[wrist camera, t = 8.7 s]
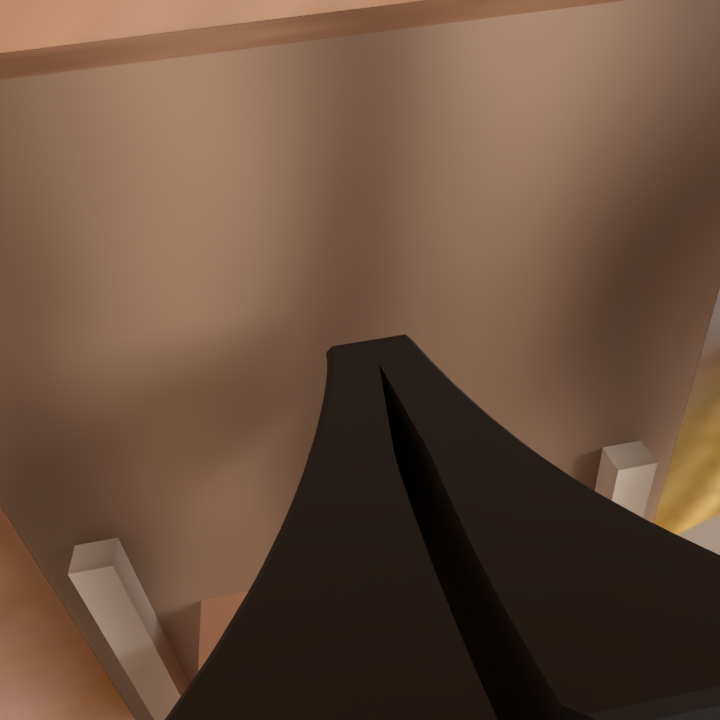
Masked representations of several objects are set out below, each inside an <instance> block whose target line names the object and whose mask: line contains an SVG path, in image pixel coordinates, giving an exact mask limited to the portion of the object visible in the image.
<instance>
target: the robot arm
mask: <svg viewBox="0 0 720 720" xmlns="http://www.w3.org/2000/svg"><path fill="white" fill-rule="evenodd" d="M326 357H327V377H326V385H325V392H324V398H323V403H322V408H321V412H320V416H319V421H318V425H317V429H316V433H315V437H314V440H313V443H312V447H311V450H310V453H309V456H308V459H307V462H306V465H305V468H304V472H303V475H302V477H301V480H300V483H299V485H298V488H297V491H296V493H295V496H294V498H293V501H292V503H291V506H290V508H289V510H288V513H287V515H286V517H285V520H284V522H283V524H282V527H281V529H280V531H279V533H278V535H277V537H276V539H275V541H274V543H273V545H272V547H271V549H270V551H269V553H268V555H267V557H266V559H265V561H264V564H263V566H262V567H261V569H260V571H259V573H258V575H257V577H256V579H255V581H254V582H253V584H252V586H251V588H250V590H249V591H248V593H247V595H246V596H245V598H244V600H243V601H242V603H241V605H240V606H239V608H238V610H237V611H236V613H235V615H234V616H233V618H232V620H231V621H230V623H229V625H228V626H227V628H226V630H225V631H224V633H223V635H222V636H221V638H220V640H219V641H218V643H217V644H216V646H215V648H214V649H213V651H212V652H211V654H210V655H209V657H208V658H207V660H206V661H205V663H204V664H203V666H202V667H201V669H200V670H199V672H198V673H197V674H196V676H195V677H194V679H193V680H192V681H191V683H190V684H189V686H188V687H187V689H186V690H185V691H184V693H183V694H182V696H181V697H180V698H179V700H178V701H177V703H176V704H175V706H174V707H173V708H172V710H171V711H170V713H169V714H168V716H167V717H166V718H165V720H720V555H718V554H716V553H714V552H712V551H709V550H707V549H705V548H703V547H701V546H699V545H697V544H695V543H692V542H690V541H688V540H686V539H684V538H682V537H680V536H678V535H676V534H673V533H671V532H669V531H667V530H665V529H663V528H662V527H660V526H658V525H656V524H654V523H652V522H650V521H648V520H646V519H644V518H642V517H640V516H639V515H637V514H635V513H633V512H631V511H630V510H628V509H626V508H624V507H622V506H621V505H619V504H617V503H615V502H613V501H612V500H610V499H608V498H606V497H604V496H603V495H601V494H599V493H597V492H595V491H594V490H592V489H590V488H589V487H587V486H586V485H584V484H582V483H581V482H579V481H577V480H576V479H574V478H573V477H571V476H570V475H568V474H567V473H565V472H564V471H562V470H561V469H559V468H558V467H556V466H555V465H553V464H552V463H550V462H549V461H547V460H546V459H545V458H543V457H542V456H540V455H539V454H538V453H536V452H535V451H534V450H532V449H531V448H530V447H528V446H527V445H526V444H524V443H523V442H522V441H520V440H519V439H518V438H516V437H515V436H514V435H513V434H511V433H510V432H509V431H508V430H506V429H505V428H504V427H503V426H501V425H500V424H499V423H498V422H497V421H495V420H494V419H493V418H492V417H491V416H489V415H488V414H487V413H486V412H485V411H484V410H482V409H481V408H480V407H479V406H478V405H477V404H476V403H475V402H474V401H473V400H471V399H470V398H469V397H468V396H467V395H466V394H465V393H464V392H463V391H462V390H460V389H459V388H458V387H457V386H456V385H455V384H454V383H453V382H452V381H451V380H450V379H449V378H448V377H447V376H446V375H445V374H444V373H443V372H442V371H441V370H440V369H439V368H438V367H437V366H436V365H435V364H434V363H433V362H432V361H431V360H430V359H429V358H428V357H427V355H426V354H425V353H424V352H423V351H422V350H421V349H420V348H419V347H418V346H417V344H416V343H415V342H414V341H413V340H412V339H411V338H410V337H408V336H407V335H406V334H404V335H398V336H392V337H386V338H380V339H373V340H367V341H361V342H355V343H349V344H343V345H337V346H332V347H331V348H330V349H329V350H328V351H327V352H326Z"/></svg>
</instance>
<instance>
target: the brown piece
mask: <svg viewBox="0 0 720 720" xmlns="http://www.w3.org/2000/svg"><path fill="white" fill-rule="evenodd" d="M719 287H720V0H427V1H419V2H411V3H403V4H395V5H387V6H378V7H370V8H362V9H354V10H346V11H338V12H330V13H322V14H314V15H306V16H298V17H290V18H282V19H274V20H266V21H258V22H250V23H242V24H234V25H226V26H217V27H209V28H201V29H193V30H185V31H177V32H169V33H161V34H153V35H145V36H137V37H129V38H121V39H113V40H105V41H97V42H89V43H81V44H73V45H65V46H56V47H48V48H40V49H32V50H24V51H16V52H8V53H0V505H1V507H2V508H3V510H4V511H5V513H6V515H7V516H8V518H9V519H10V521H11V523H12V524H13V526H14V527H15V529H16V531H17V532H18V534H19V535H20V537H21V538H22V540H23V542H24V543H25V545H26V546H27V548H28V550H29V551H30V553H31V554H32V556H33V558H34V559H35V561H36V562H37V564H38V565H39V567H40V569H41V570H42V572H43V573H44V575H45V577H46V578H47V580H48V581H49V583H50V584H51V586H52V588H53V589H54V591H55V592H56V594H57V596H58V597H59V599H60V600H61V602H62V604H63V605H64V607H65V608H66V610H67V611H68V613H69V615H70V616H71V618H72V619H73V621H74V623H75V624H76V626H77V627H78V629H79V631H80V632H81V634H82V635H83V637H84V638H85V640H86V642H87V643H88V645H89V646H90V648H91V650H92V651H93V653H94V654H95V656H96V658H97V659H98V661H99V662H100V664H101V665H102V667H103V669H104V670H105V672H106V673H107V675H108V677H109V678H110V680H111V681H112V683H113V685H114V686H115V688H116V689H117V691H118V692H119V694H120V696H121V697H122V699H123V700H124V702H125V704H126V705H127V707H128V708H129V710H130V711H131V713H132V715H133V716H134V718H135V719H136V720H165V718H166V717H167V716H168V714H169V713H170V711H171V710H172V708H173V707H174V706H175V704H176V703H177V701H178V700H179V698H180V697H181V696H182V694H183V693H184V691H185V690H186V689H187V687H188V686H189V684H190V683H191V681H192V680H193V679H194V677H195V676H196V674H197V673H198V663H199V639H200V615H201V600H206V599H211V598H216V597H221V596H226V595H231V594H237V593H242V592H247V591H249V590H250V588H251V586H252V584H253V582H254V581H255V579H256V577H257V575H258V573H259V571H260V569H261V567H262V566H263V564H264V561H265V559H266V557H267V555H268V553H269V551H270V549H271V547H272V545H273V543H274V541H275V539H276V537H277V535H278V533H279V531H280V529H281V527H282V524H283V522H284V520H285V517H286V515H287V513H288V510H289V508H290V506H291V503H292V501H293V498H294V496H295V493H296V491H297V488H298V485H299V483H300V480H301V477H302V475H303V472H304V468H305V465H306V462H307V459H308V456H309V453H310V450H311V447H312V443H313V440H314V437H315V433H316V429H317V425H318V421H319V416H320V412H321V408H322V403H323V398H324V392H325V385H326V377H327V357H326V352H327V351H328V350H329V349H330V348H331V347H332V346H337V345H343V344H349V343H355V342H361V341H367V340H373V339H380V338H386V337H392V336H398V335H404V334H406V335H407V336H408V337H410V338H411V339H412V340H413V341H414V342H415V343H416V344H417V346H418V347H419V348H420V349H421V350H422V351H423V352H424V353H425V354H426V355H427V357H428V358H429V359H430V360H431V361H432V362H433V363H434V364H435V365H436V366H437V367H438V368H439V369H440V370H441V371H442V372H443V373H444V374H445V375H446V376H447V377H448V378H449V379H450V380H451V381H452V382H453V383H454V384H455V385H456V386H457V387H458V388H459V389H460V390H462V391H463V392H464V393H465V394H466V395H467V396H468V397H469V398H470V399H471V400H473V401H474V402H475V403H476V404H477V405H478V406H479V407H480V408H481V409H482V410H484V411H485V412H486V413H487V414H488V415H489V416H491V417H492V418H493V419H494V420H495V421H497V422H498V423H499V424H500V425H501V426H503V427H504V428H505V429H506V430H508V431H509V432H510V433H511V434H513V435H514V436H515V437H516V438H518V439H519V440H520V441H522V442H523V443H524V444H526V445H527V446H528V447H530V448H531V449H532V450H534V451H535V452H536V453H538V454H539V455H540V456H542V457H543V458H545V459H546V460H547V461H549V462H550V463H552V464H553V465H555V466H556V467H558V468H559V469H561V470H562V471H564V472H565V473H567V474H568V475H570V476H571V477H573V478H574V479H576V480H577V481H579V482H581V483H582V484H584V485H586V486H587V487H589V488H590V489H592V490H594V491H595V492H597V493H599V494H601V495H603V496H604V497H606V498H608V499H610V500H612V501H613V502H615V503H617V504H619V505H621V506H622V507H624V508H626V509H628V510H630V511H631V512H633V513H635V514H637V515H639V516H640V517H642V518H644V519H646V520H648V521H650V522H652V523H653V520H654V517H655V513H656V510H657V506H658V503H659V499H660V496H661V492H662V489H663V485H664V481H665V478H666V474H667V471H668V467H669V464H670V460H671V457H672V453H673V450H674V446H675V443H676V439H677V436H678V432H679V428H680V425H681V421H682V418H683V414H684V411H685V407H686V404H687V400H688V397H689V393H690V390H691V386H692V383H693V379H694V375H695V372H696V368H697V365H698V361H699V358H700V354H701V351H702V347H703V344H704V340H705V337H706V333H707V329H708V326H709V322H710V319H711V315H712V312H713V308H714V305H715V301H716V298H717V294H718V291H719Z"/></svg>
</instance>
